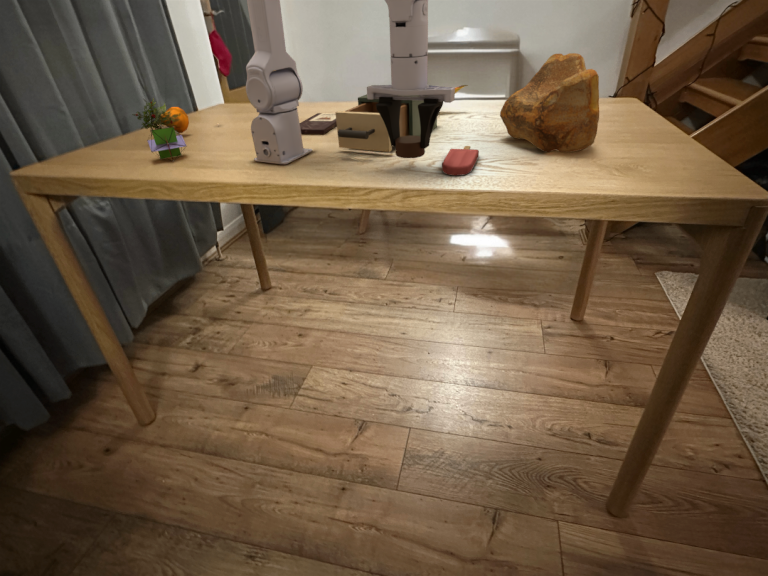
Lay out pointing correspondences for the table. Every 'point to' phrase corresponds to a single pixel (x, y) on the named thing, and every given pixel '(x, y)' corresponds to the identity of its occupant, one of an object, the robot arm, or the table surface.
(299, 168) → the table surface
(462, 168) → the popsicle
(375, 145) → the drawer
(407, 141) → the cookie
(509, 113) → the rough brown rock
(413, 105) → the cabinet
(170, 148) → the geometric puzzle
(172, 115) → the christmas decoration
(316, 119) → the chocolate bar
